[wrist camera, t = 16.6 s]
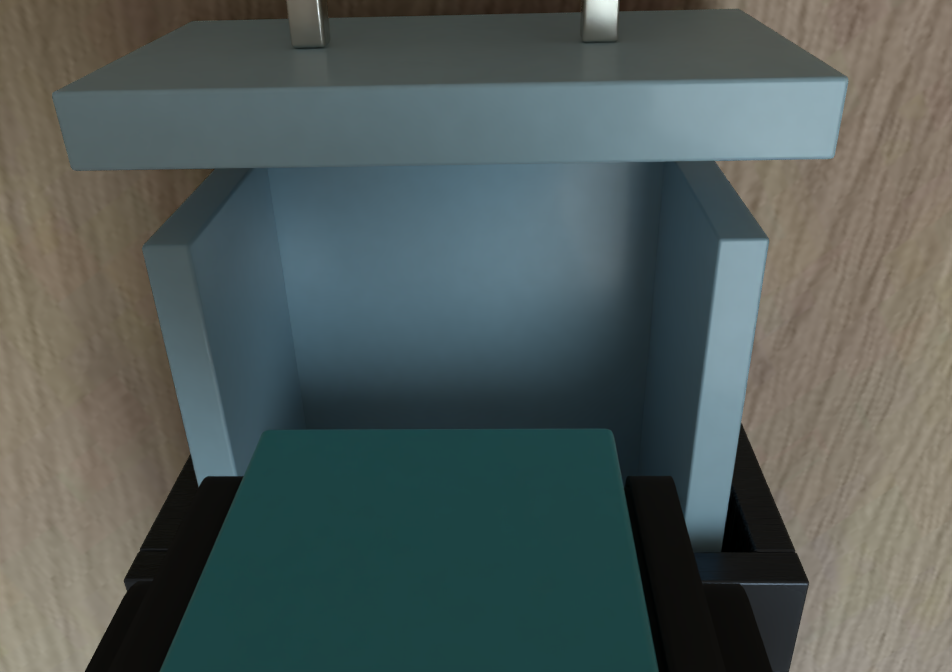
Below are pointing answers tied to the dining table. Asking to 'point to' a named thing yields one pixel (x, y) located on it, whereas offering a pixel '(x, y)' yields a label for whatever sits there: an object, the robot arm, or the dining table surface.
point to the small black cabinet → (740, 561)
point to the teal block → (422, 557)
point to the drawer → (463, 222)
